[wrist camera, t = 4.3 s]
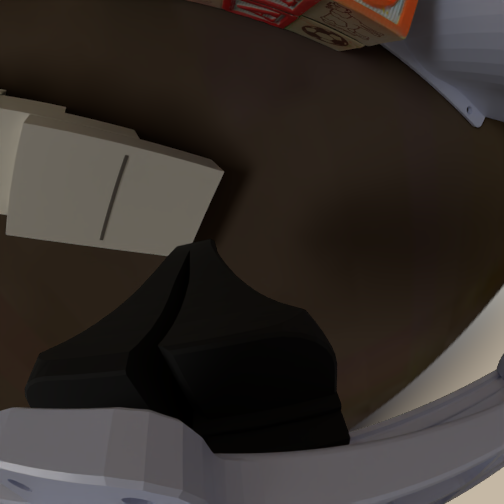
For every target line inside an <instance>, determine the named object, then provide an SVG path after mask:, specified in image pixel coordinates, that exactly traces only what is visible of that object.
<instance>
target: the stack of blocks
mask: <svg viewBox="0 0 504 504" xmlns="http://www.w3.org/2000/svg"><path fill="white" fill-rule="evenodd" d="M187 1H191V2H196V3H200V4H204V5H208V6H212V7H216V8H221V9H224V10H226V11H229V12H232V13H235V14H238V15H242V16H245V17H250V18H252V19H255V20H257V21H262V22H265V23H267V24H269V25H272V26H275V27H278V28H281V29H287V30H290V31H292V32H295V33H297V34H300V35H302V36H305V37H307V38H309V39H312V40H314V41H316V42H319V43H321V44H323V45H326V46H328V47H330V48H332V49H334V50H337V51H343V50H349V49H354V48H361V47H363V46H365V45H366V46H373V45H377V44H381V43H387V42H393V41H400V40H404V39H405V38H406V36H407V34H408V32H409V29H410V26H411V23H412V19H413V16H414V13H415V9H416V6H417V3H418V0H187Z"/></svg>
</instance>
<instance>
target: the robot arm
mask: <svg viewBox="0 0 504 504" xmlns="http://www.w3.org/2000/svg"><path fill="white" fill-rule="evenodd" d="M380 45H382V46H383V47H384V48H386V49H387V50H388V51H390V52H391V53H392V54H394V55H395V56H396V57H398V58H399V59H400V60H401V61H403V62H404V63H405V64H406V65H408V66H409V67H410V68H411V69H413V70H414V71H415V72H416V73H417V74H419V75H420V76H421V77H422V78H423V79H424V80H426V81H427V82H428V83H429V84H430V85H431V86H432V87H433V88H435V89H436V90H437V91H438V92H439V93H440V94H441V95H442V96H443V97H444V98H445V99H446V100H447V101H449V102H450V103H451V104H452V105H453V106H454V107H455V108H456V109H457V110H458V111H459V112H460V113H461V114H462V115H463V116H464V117H465V118H466V119H467V120H468V122H469V123H470V124H471V125H473V126H474V127H480V126H481V125H482V123H483V121H484V119H485V117H488V118H492V119H495V120H499V121H502V122H504V0H418V3H417V6H416V9H415V13H414V16H413V19H412V23H411V26H410V29H409V32H408V34H407V36H406V38H405V39H404V40H400V41H393V42H387V43H381V44H380ZM467 107H468V113H467ZM336 387H337V361H336V356H335V353H334V351H333V348H332V346H331V344H330V343H329V341H328V339H327V338H326V336H325V335H324V333H323V331H322V330H321V329H320V327H319V326H318V325H317V323H316V322H315V321H314V319H313V318H312V317H311V316H310V315H309V313H308V312H307V311H306V310H304V309H301V308H298V307H294V306H290V305H287V304H283V303H280V302H277V301H275V300H273V299H270V298H268V297H266V296H264V295H262V294H260V293H259V292H257V291H255V290H254V289H252V288H251V287H250V286H248V285H247V284H246V283H244V282H243V281H242V280H241V279H240V278H238V277H237V276H236V275H235V274H234V273H233V272H232V271H231V269H230V268H229V267H228V266H227V265H226V264H225V262H224V261H223V260H222V258H221V257H220V255H219V254H218V252H217V248H216V244H215V241H213V240H212V239H208V240H203V241H199V242H194V243H189V244H185V245H180V246H177V247H176V248H175V249H174V250H173V251H172V252H171V253H170V254H169V255H168V257H167V258H166V259H165V260H164V261H163V262H162V264H161V265H160V266H159V267H158V268H157V269H156V271H155V272H154V273H153V274H152V275H151V276H150V277H149V278H148V279H147V280H146V282H145V283H144V284H143V285H142V286H141V287H140V288H139V289H138V290H137V291H136V292H135V293H134V294H133V295H132V296H131V297H130V298H128V299H127V300H126V301H125V302H124V303H123V304H121V305H120V306H119V307H118V308H117V309H115V310H114V311H113V312H111V313H110V314H109V315H107V316H106V317H104V318H103V319H102V320H100V321H99V322H98V323H96V324H95V325H93V326H91V327H90V328H88V329H87V330H85V331H83V332H82V333H80V334H78V335H76V336H75V337H73V338H71V339H69V340H67V341H65V342H63V343H61V344H59V345H57V346H55V347H53V348H51V349H49V350H47V351H44V352H42V353H40V354H39V356H38V358H37V361H36V363H35V365H34V368H33V370H32V372H31V375H30V377H29V380H28V382H27V384H26V387H25V397H26V399H27V401H28V403H29V405H30V407H31V408H22V407H15V408H10V409H6V410H2V411H0V504H445V503H447V502H449V501H451V500H452V499H454V498H456V497H458V496H459V495H461V494H463V493H464V492H466V491H468V490H469V489H471V488H473V487H474V486H475V485H477V484H479V483H480V482H482V481H484V480H485V479H486V478H488V477H490V476H491V475H492V474H494V473H495V472H497V471H498V470H500V469H501V468H502V467H504V354H503V356H502V357H501V359H500V361H499V364H498V366H497V369H496V370H495V371H493V372H491V373H489V374H487V375H486V376H484V377H482V378H480V379H478V380H476V381H474V382H472V383H471V384H469V385H467V386H465V387H463V388H461V389H459V390H457V391H455V392H452V393H450V394H448V395H446V396H444V397H442V398H440V399H437V400H435V401H433V402H430V403H428V404H426V405H423V406H421V407H419V408H416V409H414V410H411V411H409V412H406V413H404V414H401V415H398V416H396V417H393V418H390V419H388V420H385V421H382V422H379V423H377V424H373V425H371V426H367V427H364V428H361V429H358V430H355V431H352V432H348V429H347V426H346V424H345V421H344V418H343V415H342V413H341V402H340V399H339V397H338V394H337V391H336Z"/></svg>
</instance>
